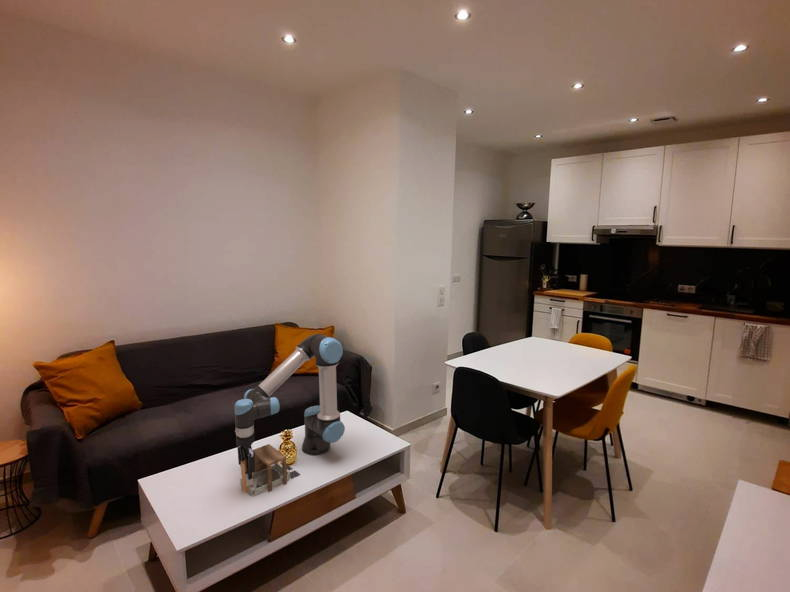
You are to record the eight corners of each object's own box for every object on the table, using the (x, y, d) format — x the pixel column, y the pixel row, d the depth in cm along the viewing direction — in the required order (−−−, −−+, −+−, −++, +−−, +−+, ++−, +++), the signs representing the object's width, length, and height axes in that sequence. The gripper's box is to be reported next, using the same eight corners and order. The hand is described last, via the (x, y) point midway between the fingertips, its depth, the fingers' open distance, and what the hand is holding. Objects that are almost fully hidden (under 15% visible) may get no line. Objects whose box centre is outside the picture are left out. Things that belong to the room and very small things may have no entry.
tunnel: (269, 469, 204) (268, 443, 202) (287, 483, 193) (286, 456, 191) (252, 477, 198) (251, 450, 196) (269, 492, 187) (268, 463, 185)
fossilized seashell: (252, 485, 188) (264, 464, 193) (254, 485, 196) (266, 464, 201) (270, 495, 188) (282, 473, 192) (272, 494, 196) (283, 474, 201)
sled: (276, 468, 205) (275, 442, 203) (290, 479, 196) (289, 452, 194) (237, 485, 191) (236, 457, 189) (250, 497, 182) (248, 468, 180)
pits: (287, 465, 209) (287, 464, 209) (300, 474, 200) (300, 474, 200) (278, 468, 205) (278, 468, 205) (291, 478, 197) (291, 478, 197)
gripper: (228, 430, 187) (231, 478, 190) (245, 443, 175) (247, 494, 179) (244, 425, 192) (246, 472, 196) (261, 438, 181) (263, 487, 184)
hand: (247, 482), depth 187 cm, fingers closed on sled, 3 cm apart
